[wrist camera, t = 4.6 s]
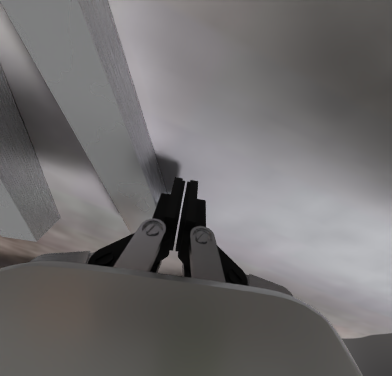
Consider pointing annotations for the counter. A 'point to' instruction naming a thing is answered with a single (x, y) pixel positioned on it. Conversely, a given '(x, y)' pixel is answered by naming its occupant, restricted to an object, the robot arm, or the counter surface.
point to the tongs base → (21, 177)
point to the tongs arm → (94, 95)
